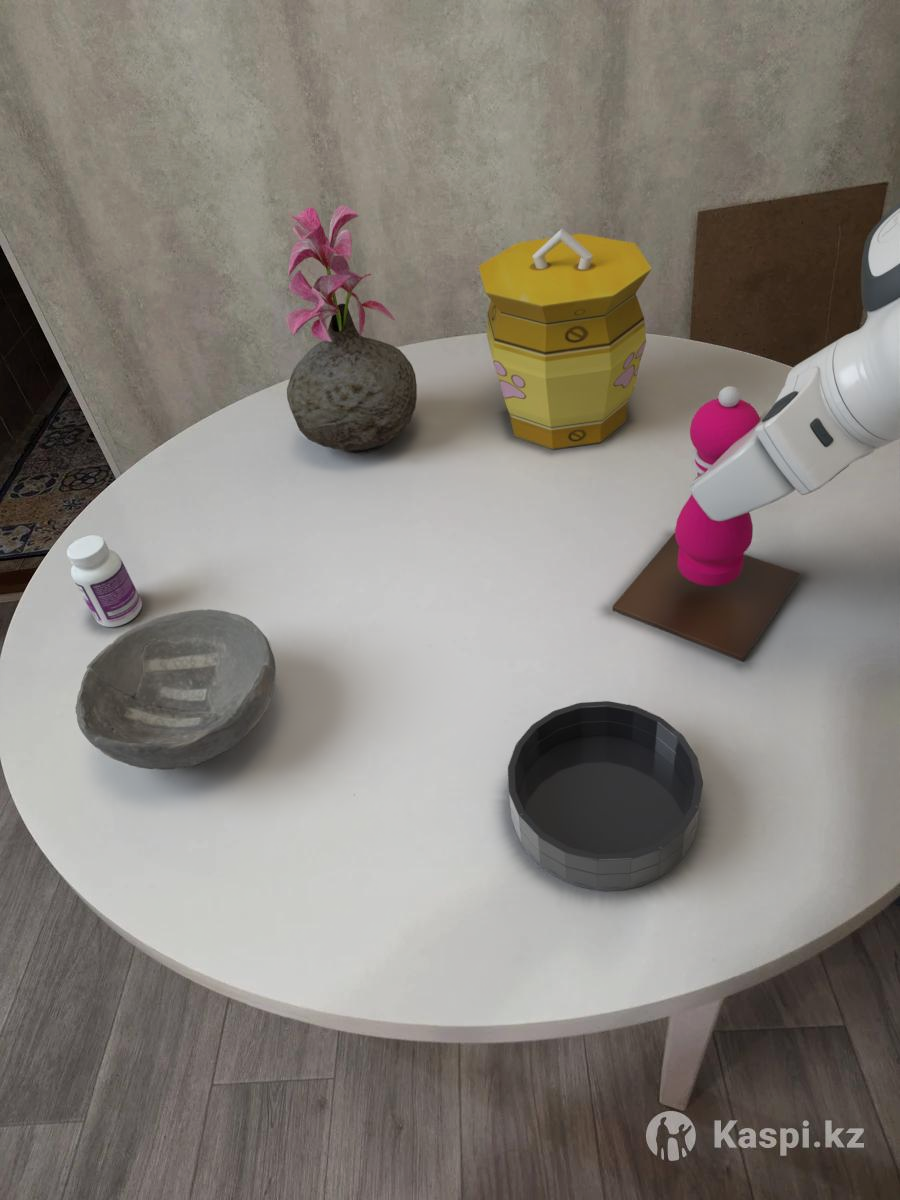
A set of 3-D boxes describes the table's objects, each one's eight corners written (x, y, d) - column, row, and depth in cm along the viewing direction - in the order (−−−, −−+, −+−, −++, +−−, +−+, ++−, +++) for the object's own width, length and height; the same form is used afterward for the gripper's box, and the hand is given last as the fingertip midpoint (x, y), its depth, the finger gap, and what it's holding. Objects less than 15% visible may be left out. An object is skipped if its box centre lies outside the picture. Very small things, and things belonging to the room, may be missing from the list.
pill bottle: (149, 595, 99) (118, 529, 93) (134, 627, 95) (100, 561, 89) (105, 597, 100) (71, 531, 93) (88, 629, 96) (51, 563, 90)
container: (511, 374, 128) (498, 197, 111) (656, 382, 121) (666, 196, 104) (469, 453, 113) (447, 264, 96) (631, 467, 107) (638, 267, 90)
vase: (285, 471, 115) (219, 244, 95) (328, 403, 127) (278, 189, 107) (405, 476, 111) (362, 240, 91) (438, 406, 123) (407, 184, 103)
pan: (728, 783, 72) (734, 750, 69) (641, 927, 64) (643, 897, 61) (572, 709, 80) (571, 676, 77) (476, 829, 72) (470, 798, 69)
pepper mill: (736, 539, 89) (760, 362, 76) (756, 586, 84) (787, 404, 70) (665, 547, 90) (677, 372, 76) (681, 593, 84) (697, 414, 71)
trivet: (799, 577, 89) (800, 572, 89) (743, 662, 82) (743, 657, 81) (674, 535, 96) (675, 531, 96) (612, 610, 89) (612, 606, 89)
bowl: (298, 650, 90) (280, 593, 84) (279, 792, 77) (256, 736, 71) (130, 667, 91) (101, 612, 85) (83, 811, 78) (45, 757, 72)
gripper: (870, 317, 73) (747, 392, 84) (758, 432, 62) (635, 499, 74) (912, 377, 73) (784, 444, 85) (809, 501, 63) (679, 557, 75)
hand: (714, 470), depth 79 cm, fingers closed on pepper mill, 5 cm apart
